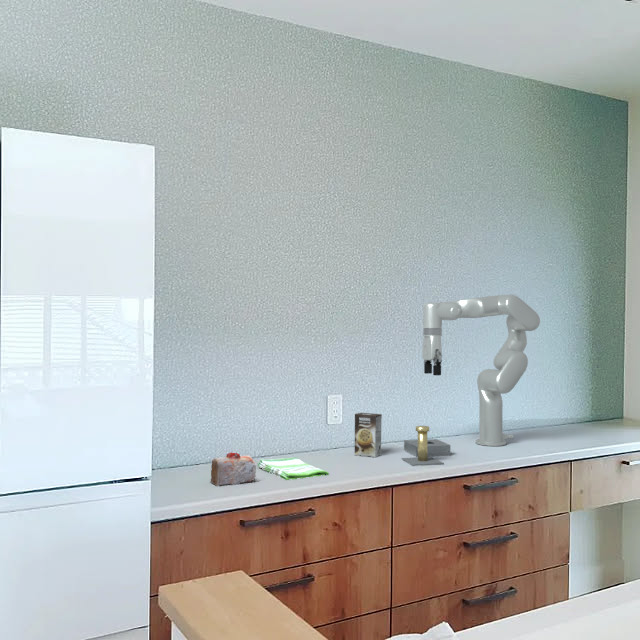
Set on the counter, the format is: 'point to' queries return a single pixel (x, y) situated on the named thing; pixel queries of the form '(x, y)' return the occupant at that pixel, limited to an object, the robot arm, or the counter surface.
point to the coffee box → (368, 434)
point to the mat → (430, 461)
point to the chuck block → (434, 447)
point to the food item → (232, 469)
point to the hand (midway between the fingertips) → (432, 374)
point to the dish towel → (290, 468)
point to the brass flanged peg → (422, 443)
